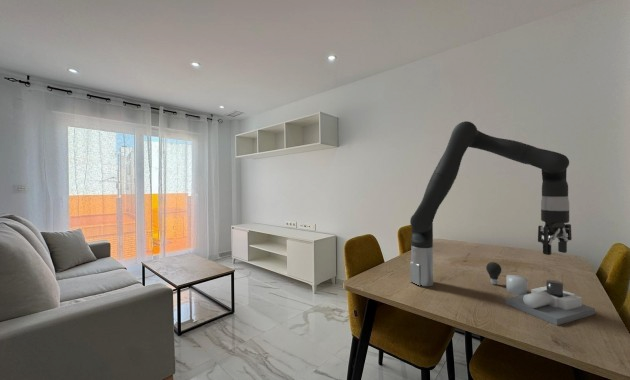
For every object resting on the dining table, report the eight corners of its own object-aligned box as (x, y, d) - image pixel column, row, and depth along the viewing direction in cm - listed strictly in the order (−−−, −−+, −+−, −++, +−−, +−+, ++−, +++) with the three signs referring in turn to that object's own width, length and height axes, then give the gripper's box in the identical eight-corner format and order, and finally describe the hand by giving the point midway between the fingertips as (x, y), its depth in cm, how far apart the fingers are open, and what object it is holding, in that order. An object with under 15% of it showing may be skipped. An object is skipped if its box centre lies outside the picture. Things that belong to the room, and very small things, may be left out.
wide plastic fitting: (519, 296, 103) (519, 281, 103) (502, 290, 109) (502, 276, 109) (531, 293, 105) (531, 279, 105) (513, 287, 111) (513, 274, 111)
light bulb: (497, 287, 112) (497, 265, 111) (483, 283, 117) (483, 261, 116) (504, 285, 114) (504, 262, 114) (490, 281, 119) (490, 259, 119)
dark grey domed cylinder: (558, 305, 91) (558, 285, 90) (543, 300, 95) (543, 281, 95) (566, 303, 92) (565, 283, 92) (551, 298, 96) (551, 279, 96)
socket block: (556, 325, 82) (556, 305, 81) (505, 303, 97) (505, 287, 97) (595, 314, 88) (594, 295, 88) (541, 295, 103) (541, 279, 103)
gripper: (554, 210, 87) (554, 258, 87) (580, 208, 92) (580, 254, 92) (529, 208, 94) (530, 252, 95) (555, 207, 99) (555, 249, 99)
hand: (554, 253), depth 93 cm, fingers open, 8 cm apart
